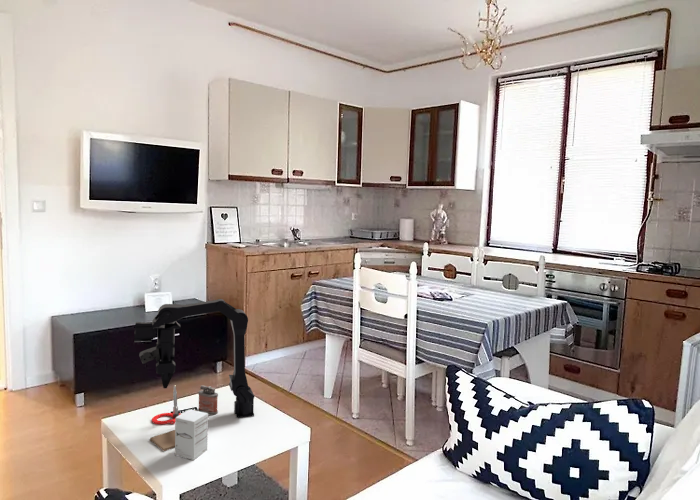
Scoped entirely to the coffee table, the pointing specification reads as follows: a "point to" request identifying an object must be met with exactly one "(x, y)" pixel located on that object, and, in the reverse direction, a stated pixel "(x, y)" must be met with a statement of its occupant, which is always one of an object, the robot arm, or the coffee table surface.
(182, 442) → the supplement box
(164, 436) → the walnut plate
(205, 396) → the red-brown boxy piece
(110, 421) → the coffee table surface
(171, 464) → the coffee table surface
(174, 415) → the tow hook
